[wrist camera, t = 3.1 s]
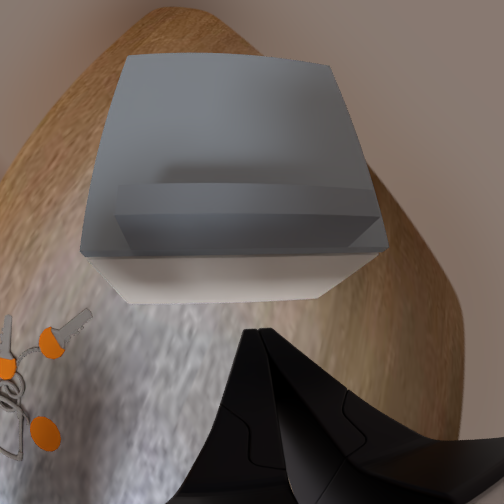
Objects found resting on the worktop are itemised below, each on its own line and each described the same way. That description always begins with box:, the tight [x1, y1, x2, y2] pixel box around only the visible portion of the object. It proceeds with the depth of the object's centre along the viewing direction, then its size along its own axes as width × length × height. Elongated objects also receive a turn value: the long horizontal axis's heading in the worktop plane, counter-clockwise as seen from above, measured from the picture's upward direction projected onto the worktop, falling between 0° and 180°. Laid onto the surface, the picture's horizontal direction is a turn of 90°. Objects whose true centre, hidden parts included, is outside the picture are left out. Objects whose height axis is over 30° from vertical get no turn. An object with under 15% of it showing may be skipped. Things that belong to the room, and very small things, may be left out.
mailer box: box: [87, 252, 379, 304], centre depth 18 cm, size 12×12×8 cm
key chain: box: [0, 308, 93, 461], centre depth 15 cm, size 13×7×1 cm, turn 166°
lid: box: [80, 53, 389, 257], centre depth 12 cm, size 12×12×3 cm
